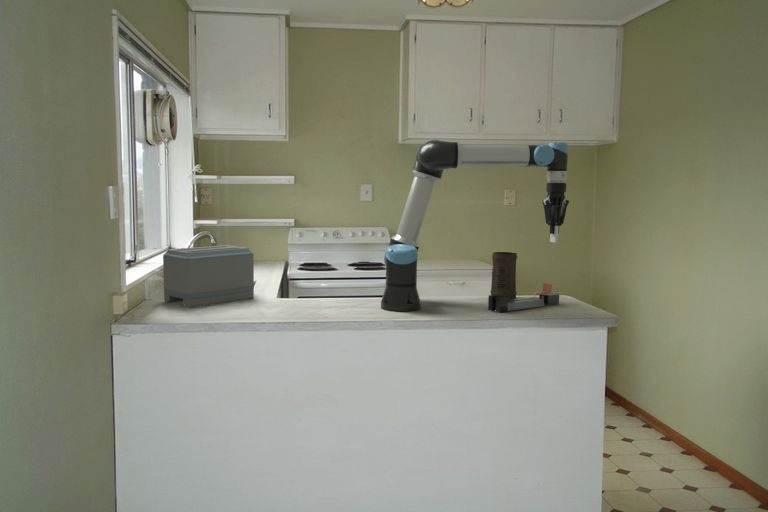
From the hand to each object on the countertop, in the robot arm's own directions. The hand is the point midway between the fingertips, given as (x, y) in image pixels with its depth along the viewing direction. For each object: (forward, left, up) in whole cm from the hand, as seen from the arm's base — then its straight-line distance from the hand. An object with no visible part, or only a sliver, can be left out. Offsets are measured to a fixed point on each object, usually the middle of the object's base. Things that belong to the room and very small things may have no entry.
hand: (553, 242), depth 251 cm
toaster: (-130, -33, -25) cm, 137 cm away
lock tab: (-4, -7, -20) cm, 22 cm away
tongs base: (-10, -13, -24) cm, 30 cm away
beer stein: (-19, +1, -25) cm, 31 cm away
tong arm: (-12, -18, -24) cm, 32 cm away
